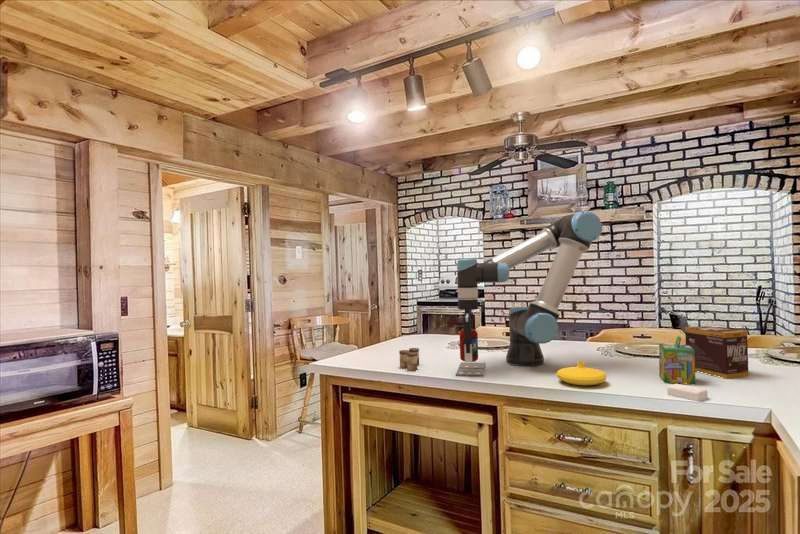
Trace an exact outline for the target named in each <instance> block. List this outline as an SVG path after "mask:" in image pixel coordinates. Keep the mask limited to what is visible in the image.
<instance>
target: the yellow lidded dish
mask: <svg viewBox="0 0 800 534" xmlns="http://www.w3.org/2000/svg"><path fill="white" fill-rule="evenodd" d="M576 363H577V365H576V366H571V367H569V366H567V367H563V368H560V369H558V371H556V376H557V378H558V379H559V380H561V381H563V382H565V383H567V384H570V385H575V386H576V385H577V386H596V385H598V384H601V383H603V382H605V381H606V380H607V377H608V375H607V374H606V373H605V372H604V371H602V370H600V369H597V368H591V367H586V366H585V361H577V362H576Z"/></svg>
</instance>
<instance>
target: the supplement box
mask: <svg viewBox="0 0 800 534" xmlns="http://www.w3.org/2000/svg"><path fill="white" fill-rule="evenodd" d="M684 333H685V345H689V346H691V347H692V348H693V349H694V351H695V371H699V372H703V373H707V374H706V375H708V374H711V375H710V376H712V375H716V376H720V377H723V378H722V379H724V378H729V379H735V378H734V377H737V378H744V376H745V377H749V376H750V374H749V373H750V371H749V352H748V351H749V350H748V330H741V329H736V328H735V329H734V328H726V327H718V326H717V327H716V326H709V325H703V326H691V327H685V331H684ZM699 372H698V373H699ZM703 373H702V374H703ZM716 376H715V377H716ZM720 377H719V378H720Z"/></svg>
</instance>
